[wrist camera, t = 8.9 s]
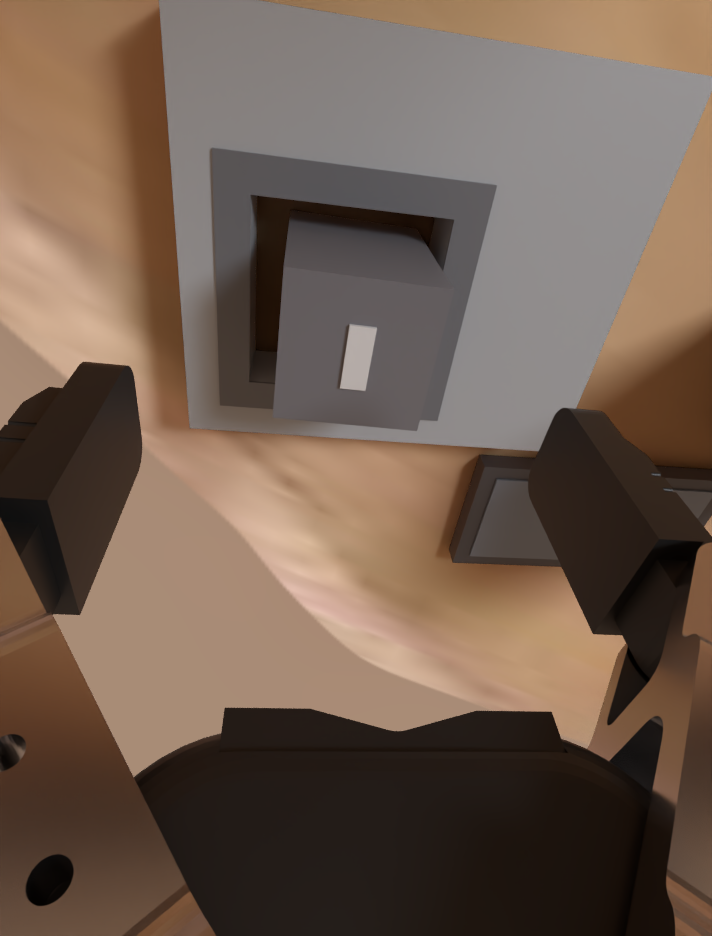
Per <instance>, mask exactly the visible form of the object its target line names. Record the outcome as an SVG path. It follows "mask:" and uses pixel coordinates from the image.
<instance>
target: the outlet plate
mask: <svg viewBox="0 0 712 936" xmlns="http://www.w3.org/2000/svg"><path fill="white" fill-rule="evenodd" d="M159 8H160V22H161V36H162V50H163V64H164V78H165V92H166V106H167V120H168V134H169V148H170V161H171V175H172V189H173V203H174V217H175V231H176V245H177V259H178V273H179V287H180V301H181V315H182V328H183V342H184V356H185V370H186V384H187V398H188V412H189V426H190V428H193V429H208V430H224V431H239V432H254V433H269V434H284V435H299V436H315V437H330V438H345V439H360V440H375V441H390V442H406V443H421V444H436V445H451V446H466V447H481V448H496V449H512V450H527V451H539V449H540V447H541V445H542V442H543V440H544V438H545V435H546V433H547V431H548V429H549V426H550V424H551V422H552V419H553V417H554V416H555V414H556V413H557V412H558V411H559V410H560V409H562V408H574V409H576V407H577V405H578V403H579V400H580V398H581V396H582V393H583V391H584V389H585V386H586V384H587V382H588V379H589V377H590V375H591V372H592V370H593V368H594V365H595V363H596V361H597V358H598V356H599V354H600V351H601V349H602V347H603V344H604V342H605V340H606V337H607V335H608V333H609V330H610V328H611V326H612V323H613V321H614V319H615V316H616V314H617V312H618V309H619V307H620V305H621V302H622V300H623V298H624V295H625V293H626V291H627V288H628V286H629V284H630V281H631V279H632V277H633V274H634V272H635V270H636V267H637V265H638V263H639V260H640V258H641V255H642V253H643V251H644V248H645V246H646V244H647V241H648V239H649V237H650V234H651V232H652V230H653V227H654V225H655V223H656V220H657V218H658V216H659V213H660V211H661V209H662V206H663V204H664V202H665V199H666V197H667V195H668V192H669V190H670V188H671V185H672V183H673V181H674V178H675V176H676V174H677V171H678V169H679V167H680V164H681V162H682V160H683V157H684V155H685V153H686V150H687V148H688V146H689V143H690V141H691V139H692V136H693V134H694V132H695V129H696V127H697V125H698V122H699V120H700V118H701V115H702V113H703V111H704V108H705V106H706V104H707V101H708V99H709V97H710V94H711V92H712V76H707V75H701V74H695V73H689V72H683V71H677V70H671V69H665V68H659V67H653V66H647V65H641V64H635V63H629V62H623V61H617V60H611V59H605V58H599V57H593V56H587V55H581V54H575V53H570V52H564V51H558V50H552V49H546V48H540V47H534V46H528V45H522V44H516V43H510V42H504V41H498V40H492V39H486V38H480V37H474V36H468V35H462V34H456V33H450V32H444V31H438V30H432V29H427V28H421V27H415V26H409V25H403V24H397V23H391V22H385V21H379V20H373V19H367V18H361V17H355V16H349V15H343V14H337V13H331V12H325V11H319V10H313V9H307V8H301V7H295V6H290V5H284V4H278V3H272V2H266V1H260V0H159ZM257 196H265V197H273V198H281V199H289V200H298V201H306V202H314V203H322V204H331V205H339V206H347V207H355V208H363V209H372V210H380V211H388V212H396V213H404V214H413V215H421V216H429V217H435V219H434V224H433V229H432V234H431V240H430V245H429V250H430V251H431V253H432V255H433V256H434V258H435V259H436V261H437V263H438V264H439V266H440V267H441V269H442V271H443V272H444V274H445V275H446V277H447V279H448V280H449V282H450V283H451V285H452V287H453V288H454V294H453V297H452V301H451V305H450V309H449V313H448V316H447V320H446V324H445V328H444V331H443V335H442V339H441V343H440V346H439V350H438V354H437V358H436V362H435V365H434V369H433V373H432V377H431V380H430V384H429V388H428V392H427V395H426V399H425V403H424V407H423V411H422V414H421V418H420V422H419V426H418V429H417V431H409V430H399V429H388V428H377V427H367V426H356V425H345V424H335V423H324V422H313V421H303V420H292V419H281V418H273V405H274V392H275V378H276V364H277V352H269V351H257V350H255V328H256V253H257Z"/></svg>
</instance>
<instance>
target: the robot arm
mask: <svg viewBox="0 0 712 936" xmlns="http://www.w3.org/2000/svg"><path fill="white" fill-rule="evenodd" d="M141 455H142V436H141V428H140V420H139V413H138V405H137V397H136V389H135V381H134V376H133V372H132V370H131V368H130V367H129V366H124V365H114V364H103V363H92V362H82V363H81V364H80V365H79V366H78V368H77V369H76V370H75V372H74V373H73V375H72V376H71V377H70V379H69V380H68V382H67V383H66V384H65V386H64V387H63V388H54V387H48V388H47V389H45V390H43V391H41V392H40V393H38V394H36V395H35V396H33V397H31V398H29V399H28V400H26V401H24V402H23V403H22V404H21V405H20V407H19V408H18V409H17V411H16V412H15V413H14V414H13V415H12V417H11V418H10V419H9V421H8V425H4V427H3V428H2V429H1V430H0V936H712V537H711V535H710V534H709V533H708V532H707V530H706V529H705V528H704V526H703V525H702V524H701V523H700V521H699V520H698V519H697V518H696V516H695V515H694V514H693V513H692V511H691V510H690V509H689V508H688V506H687V505H686V504H685V503H684V501H683V500H682V499H681V498H680V496H679V495H678V494H677V493H676V492H673V488H672V486H671V485H670V484H669V483H668V481H667V480H666V479H665V478H664V477H661V473H660V471H659V470H658V469H657V468H656V466H655V465H654V464H653V462H652V461H651V460H650V459H649V457H648V456H647V455H646V454H645V453H643V452H642V451H641V450H639V449H638V448H637V447H635V446H634V445H633V444H631V443H630V442H629V441H627V440H626V439H625V438H624V437H623V436H622V435H621V434H620V432H619V431H618V430H617V428H616V427H615V426H614V425H613V423H612V422H611V421H610V419H609V418H608V417H607V416H606V414H605V413H603V412H602V411H595V410H584V409H574V408H562V409H560V410H559V411H558V412H557V413H556V414H555V416H554V417H553V419H552V422H551V424H550V426H549V429H548V431H547V433H546V435H545V438H544V440H543V442H542V445H541V447H540V449H539V451H538V454H537V456H536V458H535V461H534V463H533V465H532V468H531V470H530V474H529V479H528V492H529V497H530V500H531V502H532V504H533V507H534V509H535V511H536V513H537V515H538V517H539V519H540V522H541V524H542V526H543V528H544V530H545V532H546V534H547V536H548V539H549V541H550V543H551V545H552V547H553V549H554V551H555V554H556V556H557V558H558V560H559V562H560V564H561V566H562V569H563V571H564V573H565V575H566V577H567V579H568V581H569V584H570V586H571V588H572V590H573V592H574V594H575V596H576V598H577V601H578V603H579V605H580V607H581V609H582V611H583V613H584V616H585V618H586V620H587V622H588V624H589V626H590V628H591V631H592V633H593V634H603V635H622V636H623V638H624V639H625V641H626V644H625V645H624V647H623V648H622V649H621V650H620V652H619V653H618V656H617V658H616V662H615V665H614V668H613V672H612V675H611V678H610V682H609V685H608V688H607V692H606V695H605V698H604V702H603V705H602V708H601V712H600V715H599V718H598V722H597V725H596V728H595V731H594V735H593V737H592V740H591V742H590V744H589V746H588V748H587V749H585V748H583V747H581V746H578V745H576V744H573V743H571V742H568V741H566V740H562V739H561V738H560V734H559V732H558V729H557V726H556V723H555V720H554V717H553V715H552V712H524V711H474V712H470V713H467V714H463V715H460V716H456V717H453V718H449V719H446V720H442V721H438V722H435V723H431V724H428V725H424V726H420V727H417V728H413V729H410V730H406V731H390V730H386V729H382V728H378V727H375V726H371V725H367V724H364V723H360V722H356V721H353V720H349V719H345V718H342V717H338V716H335V715H331V714H327V713H324V712H320V711H316V710H312V709H283V708H282V709H281V708H276V709H275V708H225V711H224V718H223V726H222V733H221V734H217V735H213V736H210V737H206V738H203V739H200V740H198V741H195V742H193V743H190V744H188V745H185V746H183V747H181V748H179V749H177V750H175V751H173V752H171V753H169V754H168V755H166V756H164V757H162V758H160V759H159V760H157V761H156V762H154V763H153V764H151V765H150V766H149V767H147V768H146V769H144V770H143V771H141V772H140V773H139V774H137V775H136V776H135V777H133V775H132V773H131V771H130V769H129V767H128V765H127V763H126V762H125V759H124V757H123V755H122V753H121V751H120V749H119V747H118V745H117V743H116V741H115V739H114V737H113V735H112V733H111V731H110V729H109V727H108V725H107V723H106V721H105V719H104V717H103V715H102V713H101V711H100V709H99V707H98V705H97V703H96V701H95V699H94V697H93V695H92V693H91V691H90V689H89V687H88V685H87V683H86V681H85V678H84V676H83V674H82V673H81V671H80V669H79V667H78V664H77V662H76V660H75V658H74V656H73V654H72V653H71V650H70V648H69V646H68V645H67V642H66V640H65V638H64V636H63V634H62V632H61V630H60V628H59V626H58V624H57V623H56V621H55V619H54V617H53V614H71V615H80V613H81V611H82V609H83V606H84V604H85V601H86V599H87V596H88V593H89V591H90V589H91V586H92V584H93V582H94V579H95V577H96V574H97V572H98V569H99V567H100V564H101V562H102V559H103V557H104V555H105V552H106V549H107V547H108V545H109V542H110V540H111V537H112V535H113V532H114V530H115V528H116V525H117V523H118V520H119V518H120V515H121V513H122V510H123V508H124V505H125V503H126V500H127V498H128V496H129V493H130V491H131V488H132V486H133V483H134V480H135V478H136V476H137V473H138V471H139V467H140V463H141Z"/></svg>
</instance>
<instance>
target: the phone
mask: <svg viewBox="0 0 712 936" xmlns="http://www.w3.org/2000/svg"><path fill="white" fill-rule="evenodd" d="M534 461H535V458H523V457H508V456H492V455H479V458H478V461H477V464H476V467H475V471H474V474H473V477H472V480H471V483H470V486H469V489H468V492H467V495H466V498H465V502H464V505H463V508H462V511H461V514H460V517H459V520H458V523H457V526H456V529H455V532H454V536H453V539H452V542H451V545H450V548H449V551H450V555H451V558H452V562H453V563H477V564H504V565H531V566H558V567H562V566H561V564H560V562H559V560H558V558H557V556H556V554H555V551H554V549H553V547H552V545H551V543H550V541H549V539H548V536H547V534H546V532H545V530H544V528H543V526H542V524H541V522H540V519H539V517H538V515H537V513H536V511H535V509H534V507H533V504H532V502H531V500H530V497H529V492H528V479H529V474H530V470H531V468H532V465H533V463H534ZM656 468H657V469H658V470H659V471H660V473H661V477H664V478H665V479H666V480H667V481H668V483H669V484H670V485H671V486H672V488H673V492H676V493H677V494H678V495H679V496H680V498H681V499H682V500H683V501H684V503H685V504H686V505H687V506H688V508H689V509H690V510H691V511H692V513H693V514H694V515H695V516H696V518H697V519H698V520H699V521H700V523H701V524H702V525H703V526H705V524H706V523H707V521H708V520H709V518H710V517H711V516H712V470H710V469H695V468H679V467H664V466H656Z"/></svg>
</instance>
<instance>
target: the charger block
mask: <svg viewBox="0 0 712 936" xmlns="http://www.w3.org/2000/svg"><path fill="white" fill-rule="evenodd" d="M453 294H454V288H453V287H452V285H451V283H450V282H449V280H448V279H447V277H446V275H445V274H444V272H443V271H442V269H441V267H440V266H439V264H438V263H437V261H436V259H435V258H434V256H433V255H432V253H431V251H430V250H429V248H428V247H427V245H426V243H425V242H424V240H423V239H422V237H421V235H420V234H419V232H418V231H417V229H415V228H408V227H402V226H395V225H389V224H382V223H376V222H369V221H362V220H356V219H349V218H343V217H336V216H329V215H323V214H316V213H310V212H303V211H296V210H290V219H289V227H288V235H287V243H286V251H285V259H284V268H283V282H282V296H281V309H280V323H279V337H278V350H277V364H276V378H275V392H274V405H273V418H281V419H292V420H303V421H313V422H324V423H335V424H345V425H356V426H367V427H377V428H388V429H399V430H409V431H417V429H418V426H419V422H420V418H421V414H422V411H423V407H424V403H425V399H426V395H427V392H428V388H429V384H430V380H431V377H432V373H433V369H434V365H435V362H436V358H437V354H438V350H439V346H440V343H441V339H442V335H443V331H444V328H445V324H446V320H447V316H448V313H449V309H450V305H451V301H452V297H453Z"/></svg>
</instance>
